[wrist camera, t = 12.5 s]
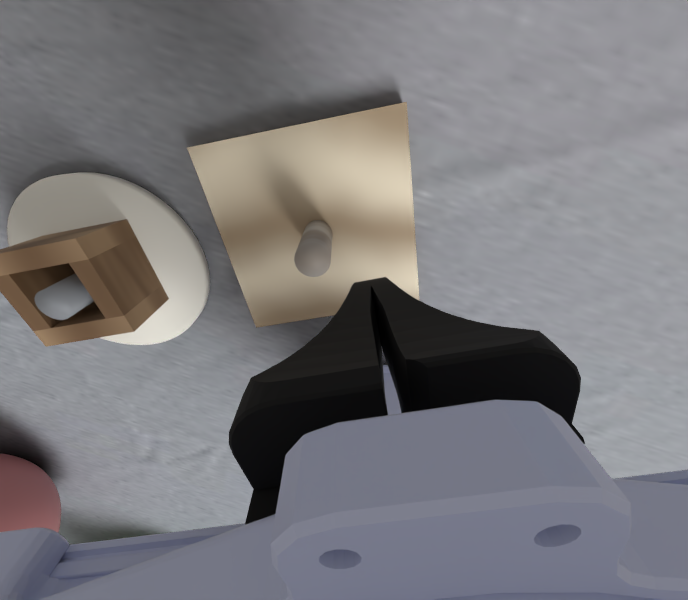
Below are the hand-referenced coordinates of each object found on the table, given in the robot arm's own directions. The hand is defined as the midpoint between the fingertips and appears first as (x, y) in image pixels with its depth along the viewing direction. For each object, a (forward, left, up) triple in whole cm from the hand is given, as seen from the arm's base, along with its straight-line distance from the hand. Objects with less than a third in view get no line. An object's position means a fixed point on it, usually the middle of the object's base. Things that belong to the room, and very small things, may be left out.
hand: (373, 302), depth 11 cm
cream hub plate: (+1, +17, -9) cm, 19 cm away
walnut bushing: (+1, +17, -8) cm, 19 cm away
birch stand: (+1, +3, -9) cm, 10 cm away
